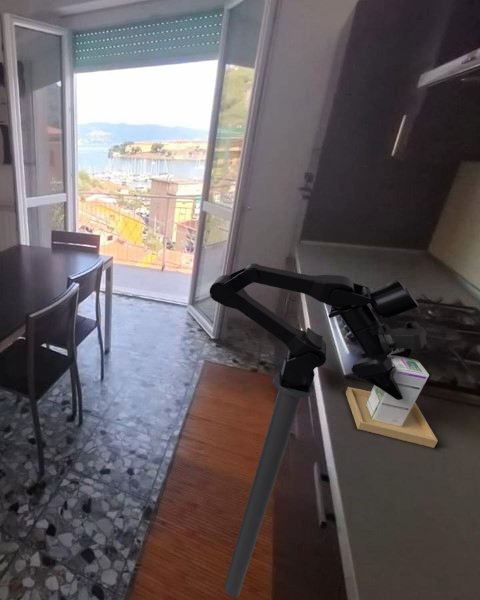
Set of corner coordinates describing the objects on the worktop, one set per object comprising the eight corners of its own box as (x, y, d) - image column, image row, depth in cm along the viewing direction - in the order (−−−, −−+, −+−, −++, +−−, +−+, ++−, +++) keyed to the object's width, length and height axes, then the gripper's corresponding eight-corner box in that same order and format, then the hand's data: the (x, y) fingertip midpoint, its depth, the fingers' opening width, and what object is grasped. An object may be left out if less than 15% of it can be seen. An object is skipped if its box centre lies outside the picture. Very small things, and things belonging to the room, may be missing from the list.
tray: (357, 429, 79) (360, 422, 78) (345, 393, 90) (347, 386, 89) (434, 448, 74) (438, 441, 73) (411, 407, 85) (414, 400, 84)
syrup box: (402, 428, 78) (432, 375, 72) (370, 420, 80) (397, 367, 74) (393, 411, 83) (420, 360, 77) (363, 403, 85) (387, 353, 79)
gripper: (389, 326, 69) (441, 402, 65) (419, 301, 79) (466, 366, 75) (332, 343, 78) (376, 411, 75) (365, 319, 88) (405, 378, 84)
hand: (407, 390), depth 77 cm, fingers open, 9 cm apart
